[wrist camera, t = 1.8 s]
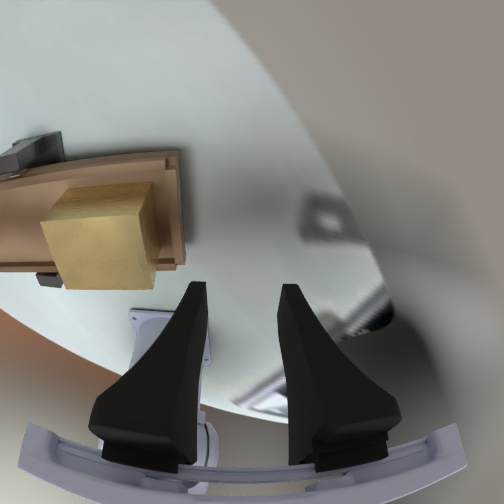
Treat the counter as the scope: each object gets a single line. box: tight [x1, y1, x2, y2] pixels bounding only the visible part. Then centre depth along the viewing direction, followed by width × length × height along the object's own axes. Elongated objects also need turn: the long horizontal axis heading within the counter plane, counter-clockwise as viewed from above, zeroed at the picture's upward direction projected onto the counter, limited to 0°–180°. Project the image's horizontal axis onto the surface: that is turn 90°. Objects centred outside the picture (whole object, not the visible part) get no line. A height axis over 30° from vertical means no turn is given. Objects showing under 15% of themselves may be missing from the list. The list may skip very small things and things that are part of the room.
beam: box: [0, 150, 186, 272], centre depth 16 cm, size 8×24×2 cm, turn 87°
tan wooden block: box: [40, 181, 161, 290], centre depth 16 cm, size 5×6×4 cm
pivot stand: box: [0, 132, 65, 288], centre depth 17 cm, size 12×5×4 cm, turn 177°
